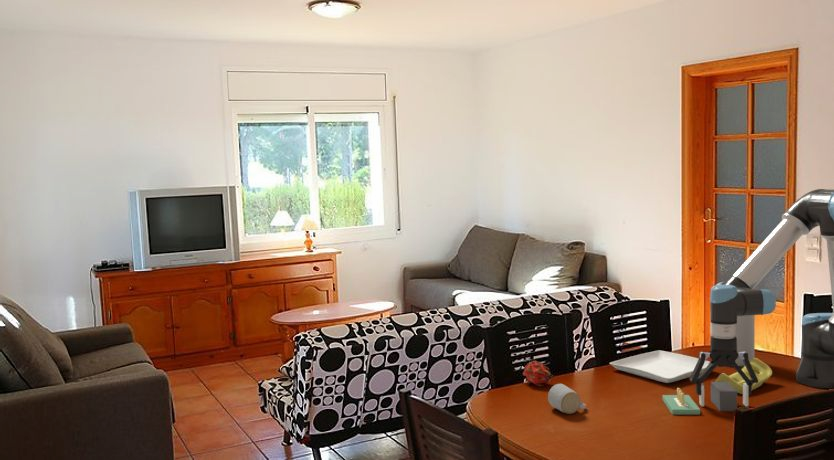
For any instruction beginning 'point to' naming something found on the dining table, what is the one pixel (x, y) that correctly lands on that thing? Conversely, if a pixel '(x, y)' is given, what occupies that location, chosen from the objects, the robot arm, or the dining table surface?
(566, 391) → the ceramic mug
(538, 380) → the dragon fruit
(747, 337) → the cylinder vase
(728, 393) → the plug housing
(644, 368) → the square plate
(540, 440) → the dining table surface
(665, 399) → the header board
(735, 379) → the plastic component
